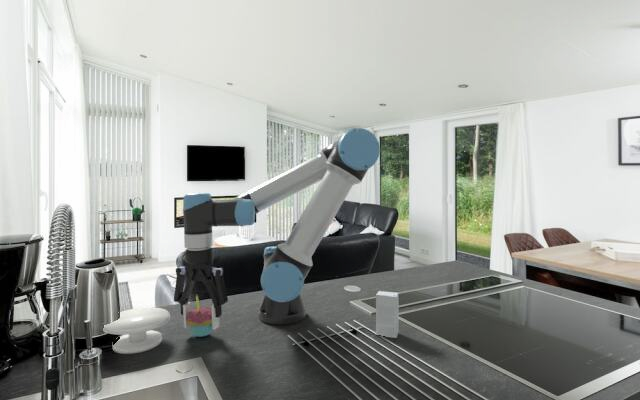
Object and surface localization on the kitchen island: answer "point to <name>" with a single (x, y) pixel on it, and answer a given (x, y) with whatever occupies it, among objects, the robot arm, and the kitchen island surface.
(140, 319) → the cake stand
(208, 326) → the cupcake
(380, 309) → the skincare box
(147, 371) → the kitchen island surface
